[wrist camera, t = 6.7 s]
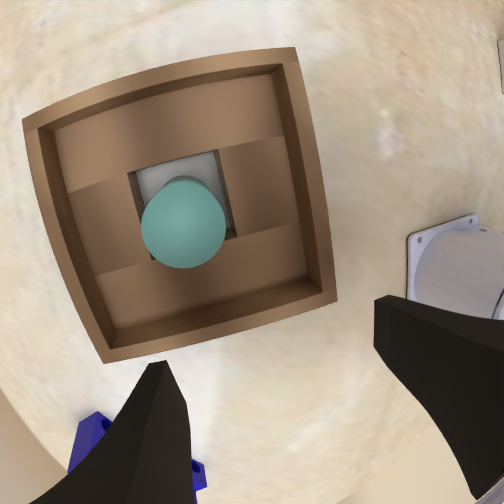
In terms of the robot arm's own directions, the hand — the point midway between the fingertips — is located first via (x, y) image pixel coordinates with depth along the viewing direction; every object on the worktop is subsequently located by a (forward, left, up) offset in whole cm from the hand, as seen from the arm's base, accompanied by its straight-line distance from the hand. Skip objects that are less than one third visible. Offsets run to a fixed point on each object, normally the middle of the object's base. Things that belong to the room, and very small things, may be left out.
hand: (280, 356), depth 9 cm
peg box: (+2, -4, -10) cm, 11 cm away
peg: (+2, -4, -10) cm, 11 cm away
